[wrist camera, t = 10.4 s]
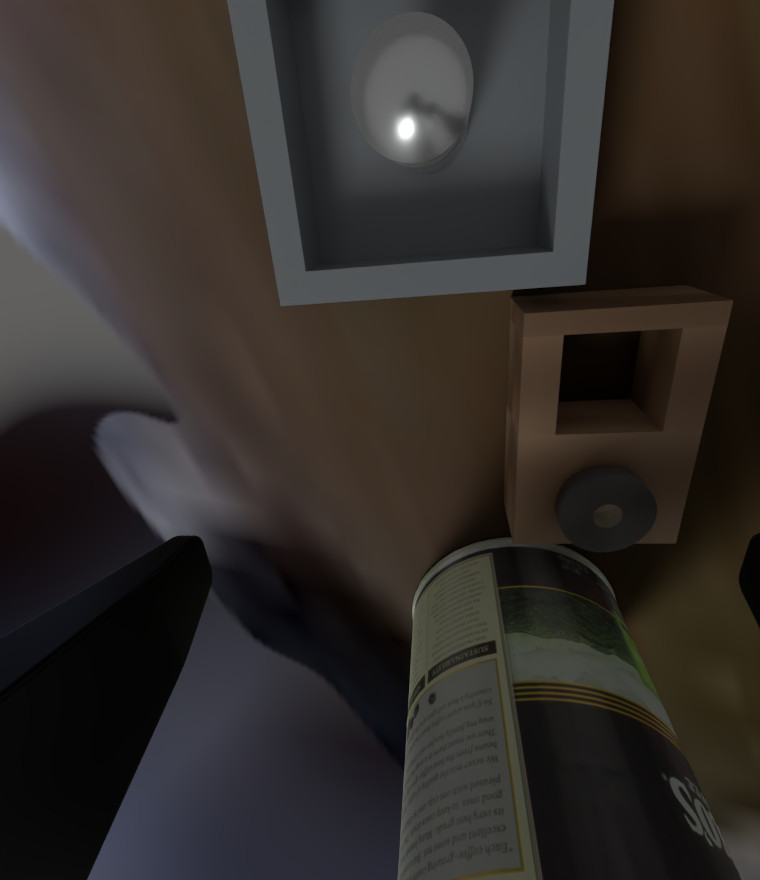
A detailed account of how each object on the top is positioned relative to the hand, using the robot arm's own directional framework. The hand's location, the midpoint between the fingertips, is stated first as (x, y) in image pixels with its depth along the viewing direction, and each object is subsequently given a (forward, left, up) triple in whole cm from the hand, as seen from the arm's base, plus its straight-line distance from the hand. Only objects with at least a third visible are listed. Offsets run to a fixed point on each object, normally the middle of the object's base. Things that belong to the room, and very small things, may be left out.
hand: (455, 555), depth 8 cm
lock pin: (+7, 0, -12) cm, 14 cm away
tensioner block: (-2, -5, -12) cm, 13 cm away
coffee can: (-14, -3, -12) cm, 19 cm away
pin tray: (+8, +1, -12) cm, 14 cm away
